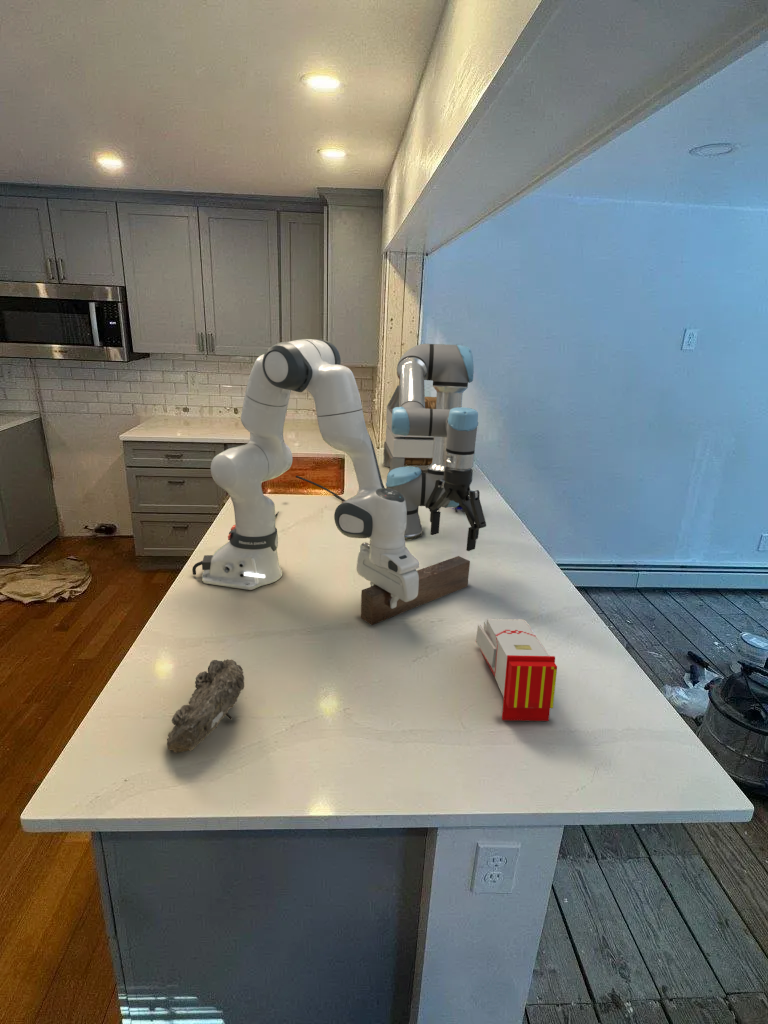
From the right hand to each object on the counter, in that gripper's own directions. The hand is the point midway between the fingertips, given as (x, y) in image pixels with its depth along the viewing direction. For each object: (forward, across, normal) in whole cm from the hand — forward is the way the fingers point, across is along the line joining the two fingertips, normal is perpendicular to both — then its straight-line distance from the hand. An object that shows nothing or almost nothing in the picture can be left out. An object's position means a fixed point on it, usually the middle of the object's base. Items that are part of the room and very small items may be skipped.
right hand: (452, 541), depth 157 cm
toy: (+15, +37, -20) cm, 45 cm away
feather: (+15, -79, -9) cm, 81 cm away
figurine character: (+15, -46, +55) cm, 73 cm away
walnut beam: (+15, 0, -12) cm, 19 cm away
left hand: (+11, 0, -24) cm, 26 cm away
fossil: (+15, +10, -76) cm, 78 cm away
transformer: (+15, -92, +78) cm, 121 cm away
